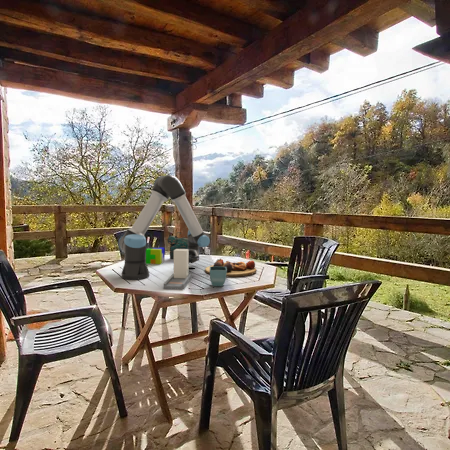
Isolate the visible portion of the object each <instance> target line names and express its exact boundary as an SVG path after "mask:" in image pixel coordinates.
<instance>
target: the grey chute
mask: <svg viewBox="0 0 450 450" xmlns="http://www.w3.org/2000/svg"><path fill="white" fill-rule="evenodd" d="M192 279H193V272H190V273H188V276H187V278H174V272H173V273H172V274H171V275H170V276H169V277H168V279H166V280H165V282H163V290H182V289H184V290H185V289H186V288H187V286H188V284H189V283H190V282H191V280H192Z"/></svg>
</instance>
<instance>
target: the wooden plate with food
mask: <svg viewBox="0 0 450 450" xmlns="http://www.w3.org/2000/svg"><path fill="white" fill-rule="evenodd" d="M210 267H226V269H227V273H226V278H239V277H240V278H241V277H247V276H251V275H254V274H255V273H257V268H256V262H255V261H254V260H249V261H247V262H246V263H245V262H244V261H237V262H235V261H234V262H232V261H229V260H226V261H225V262H224V259H222V258H219V259H218V258H217V260H215V262H214V263H213V265H212V264H211V265H209V266H207V267H205V269H204V272H205V273H206V274H208V275H210Z"/></svg>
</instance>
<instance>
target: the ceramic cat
mask: <svg viewBox="0 0 450 450" xmlns="http://www.w3.org/2000/svg"><path fill="white" fill-rule="evenodd" d="M178 233H179V234H181V232H180V231H177V233H176V235H171V234H169V235H168V238H167V244H169V259H170V260H174V250H175V249H188V236H183V237H178V235H177V234H178Z"/></svg>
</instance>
